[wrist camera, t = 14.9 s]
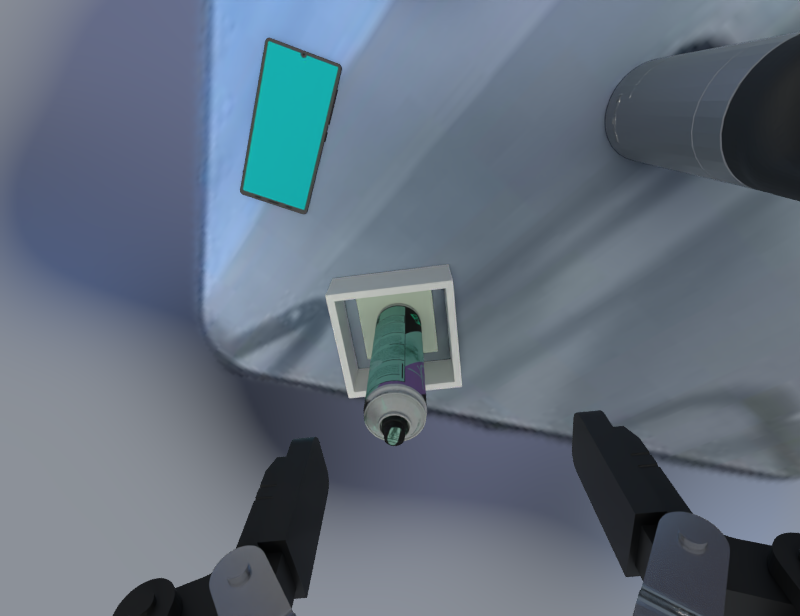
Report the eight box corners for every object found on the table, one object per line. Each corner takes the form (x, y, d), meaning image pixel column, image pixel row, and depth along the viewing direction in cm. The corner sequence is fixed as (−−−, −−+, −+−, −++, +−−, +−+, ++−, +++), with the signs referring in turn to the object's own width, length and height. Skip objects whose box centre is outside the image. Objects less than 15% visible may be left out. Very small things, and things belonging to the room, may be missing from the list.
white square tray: (448, 264, 49) (452, 280, 44) (457, 363, 55) (462, 386, 50) (332, 278, 50) (325, 295, 45) (353, 374, 55) (348, 398, 51)
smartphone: (239, 193, 45) (265, 36, 39) (242, 191, 46) (268, 37, 40) (306, 215, 46) (342, 65, 40) (308, 213, 47) (344, 66, 41)
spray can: (383, 347, 53) (372, 469, 35) (370, 309, 51) (350, 419, 33) (426, 336, 53) (436, 456, 34) (414, 297, 50) (418, 404, 32)
